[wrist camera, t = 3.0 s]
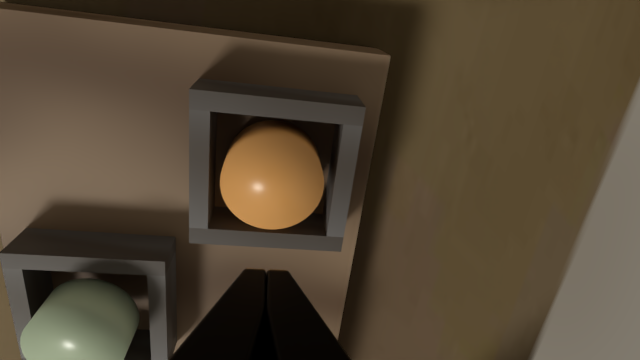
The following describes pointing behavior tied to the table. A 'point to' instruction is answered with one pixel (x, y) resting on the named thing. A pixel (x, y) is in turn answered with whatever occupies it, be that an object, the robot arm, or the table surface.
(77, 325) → the sage button
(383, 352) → the table surface
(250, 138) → the orange button
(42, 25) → the console
